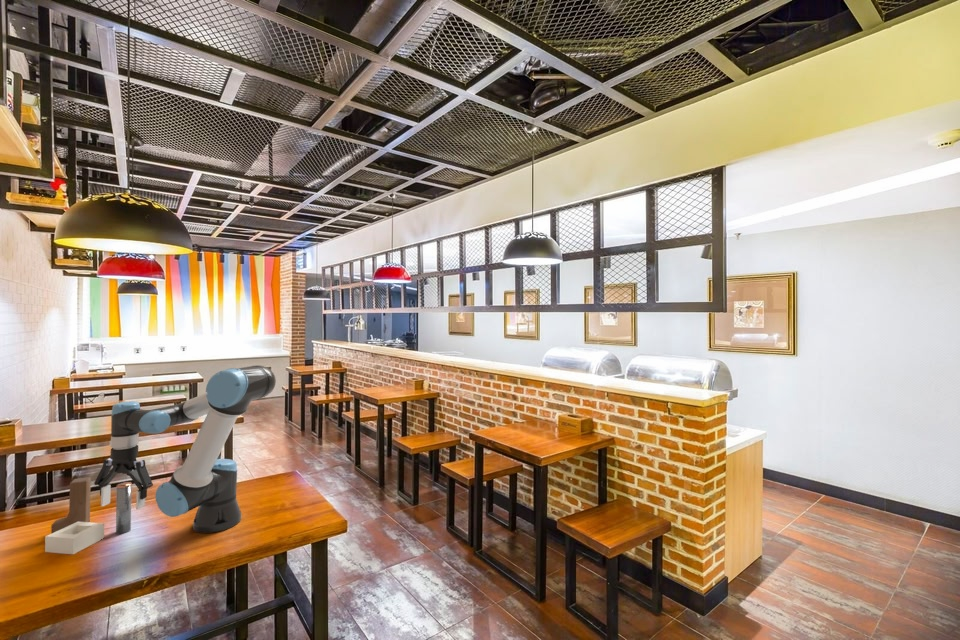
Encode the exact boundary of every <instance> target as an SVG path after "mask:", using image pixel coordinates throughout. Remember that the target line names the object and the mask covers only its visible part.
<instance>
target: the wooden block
mask: <svg viewBox="0 0 960 640" xmlns="http://www.w3.org/2000/svg"><path fill="white" fill-rule="evenodd" d="M91 482H92V479H91V476H87V477H79V478H74V479H73V480H72V481H70V483H69V503H68V504H69V505H68V506H69V509H68V510H69V511H68V514H67V515H66V516H64V517H60V518H57V519H56V520H54V522H52V524H51V528H50V529H51V530H50V531H51V532H50V534H52V533H54V532H56V531H58V530H61V529H63V528H65V527H67V526H69V525H72V524H74V523H76V522H91V489H92V487H91V486H92V485H91Z"/></svg>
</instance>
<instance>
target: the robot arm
mask: <svg viewBox="0 0 960 640" xmlns="http://www.w3.org/2000/svg"><path fill="white" fill-rule="evenodd" d="M276 382H277V381H276V376H275V373H274V372H273V371H272V370H271V369H270V368H269V367H267V366H264V365H259V364H258V365H256V364H255V365H251V366H244V367H237V368H236V367H231V368H227V369H223V370H220V371H217V372H215V373H214V374H213V375H212V376H211V377H210V379H208V382H207V384H206V387H205V393H203V394H202V393H201V394H200V395H198V396H196V397H192V398H190V399H188V400H185V401H183V402H182V401H181V402H180V403H177V404H172V405H168V406H164V407H163V406H162V407H158V408H154V409H142V408H141V406H140V405H141V404H140V402H138V401H133V400H132V401H121V402H117V403H115V404H113V406H112V408H111V409H112V410H111V415H110V416H111V428H110V429H111V430H110V431H111V432H110V456H109V458H105V459H104V460H103V462H102V467H101V469H100V471H99V473H98V475H97V477H96V478H95V480H94V483H93V484H94V486H98V487H99V496H100V507H105V506H106V505H109V504H111V496H112V495H111V493H112V492H111V489H112V486H111V482H112V481H113V479H114V478H115V477H116V476H117V475H118V474H123V475H127V476H129V478H130V479H131V480H132V482H133V483H134V484H135V486H136V487H137V489H138V490H136V499H135V501H136V502H135V505H136V506H135V509H136V511H137V510H141V509H142V508H145V507H146V499H147V496H148V489H149V488H151V487H153V486H154V484H153V481H152V479H151V477H150V474H149V471H148V469H147V467H146V461H145V459H143V460H137V456H138V455H139V445H138V444H139V437H140V436H139V435H140V433H145V434H153V435H154V434H160V433H161V434H162V433H164V431H166V430H167V429H168V428H171V427H174V426H178V425H183V424H188V423H190V422H194V421H196V420H198V419H199V418H201V417H204V416H205V418H204V421H203V422H202V425H201V427H200V429H199V431H198V433H197V435H196V437H195V440H194V441H193V444H192V445H191V448H190V449H189V451H188V454H187V456H186V458H185V460H184V462H183V464H182V465H179V466H178V467H176V469H175V470H174V472H173V473H172V475H171V478H170V479H169V481H166V482H163V483H162V484H160V485H159V486H158V487H157V489H156V491H155V503H156V505H157V507H158V509H159V510H160V511H161V513H162V514H164V515H165V516H167V517H170V518H176V517H179V516H181V515H184V514H187V513H188V512H191V511H192V510H194V509H196V508H197V510H196V513H195V516H194V519H193V522H192V529H193V531H194V532H196V533H199V534H211V533H217V532H218V533H219V532H221V531H224V530H227V529H231V528H232V527H234V526H236V525H238V524H239V523H240V522H241V520H242V511H241V509H240V505H239V502H238V501H237V488H238V487H237V483H238V467H237V466H238V465H237V462H236V461H235V460H234V459H229V458H219V456H220V454H221V452H222V450H223V448H224V445H225V444H226V441H227V440H228V438H229V435H230V434H231V432H232V430H233V427H234V425H235V423H236V421H237V419H238V418H239V416H242V415H244V414H245V413H246V412H247V410H248V407H249V406H250V404H251V403H252V401H256V400H259V399H263V398H266V397H267V396H269V395H270V394H271V393H272V392H273V390H274V389H275V387H276Z"/></svg>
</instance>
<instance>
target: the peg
mask: <svg viewBox="0 0 960 640" xmlns="http://www.w3.org/2000/svg"><path fill="white" fill-rule="evenodd" d="M132 485H133V484H132V482H131V481H125V482H121V483H118V484H116V497H115V499H116V502H115V506H116V507H115V509H116V510H115V511H116V513H115V514H116V515H115V534H116V535H123V534H126V533H129V532H130V531H131V529H132V528H131V527H132V489H133V488H132Z"/></svg>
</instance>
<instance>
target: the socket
mask: <svg viewBox="0 0 960 640" xmlns="http://www.w3.org/2000/svg"><path fill="white" fill-rule="evenodd" d="M103 538H104V539H105V523H104V522H103V523H101V522H91V521H90V522H76V523H74V524H72V525H69V526H67V527H65V528H63V529H61V530H58V531H56V532H54V533H52V534H51V533H50V534H48V535H45V537H44V541H45V542H44V553H51V554H61V555H75V554H77V553H78V552H81V551H82V550H84V549H86V548H88V547H90V546H92V545H94V544H96V543H97V542H99V541H101V539H102V540H104V539H103Z"/></svg>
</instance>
